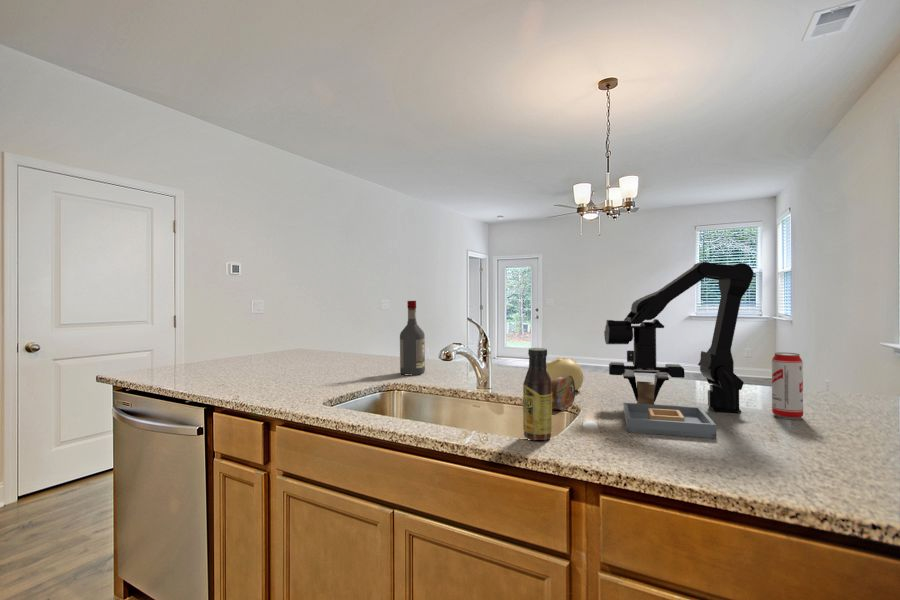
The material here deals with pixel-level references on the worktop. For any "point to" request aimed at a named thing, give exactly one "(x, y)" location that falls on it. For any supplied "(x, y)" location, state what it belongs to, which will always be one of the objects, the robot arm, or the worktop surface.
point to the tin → (562, 392)
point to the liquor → (412, 345)
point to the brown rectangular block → (645, 392)
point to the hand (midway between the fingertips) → (645, 400)
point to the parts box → (669, 420)
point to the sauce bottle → (537, 397)
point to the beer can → (787, 385)
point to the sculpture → (565, 370)
